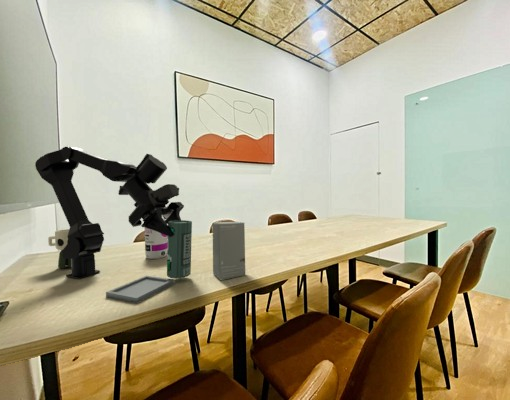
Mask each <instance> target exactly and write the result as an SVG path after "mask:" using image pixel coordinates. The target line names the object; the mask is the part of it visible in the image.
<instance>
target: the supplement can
mask: <svg viewBox="0 0 510 400" xmlns="http://www.w3.org/2000/svg"><path fill="white" fill-rule="evenodd" d="M162 218H163V217H162ZM163 220H164V221H165V220H166V219H164V218H163ZM166 224H167V223H166ZM167 225H168V224H167ZM144 248H145V249H144V251H145V257H146V258H147V259H150V260H157V259H158V260H159V259H163V258H165V257H167V248H168V236H167V235H164V234H162V233H159V232H157V231H154V230H151V229H148V228H145V227H144Z"/></svg>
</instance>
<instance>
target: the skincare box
mask: <svg viewBox="0 0 510 400" xmlns="http://www.w3.org/2000/svg"><path fill="white" fill-rule="evenodd" d="M211 226H212V227H211V228H212V274H213V275H214V276H215V277H216V278H217V279H218V280H219V281H224V280H228V279H234V278H238V277H243V276H246V240H245V237H246V235H245V234H246V233H245V230H246V229H245V222H242V221H240V222H239V221H221V222H220V221H217V222H215V221H214V222H212V224H211Z"/></svg>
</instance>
